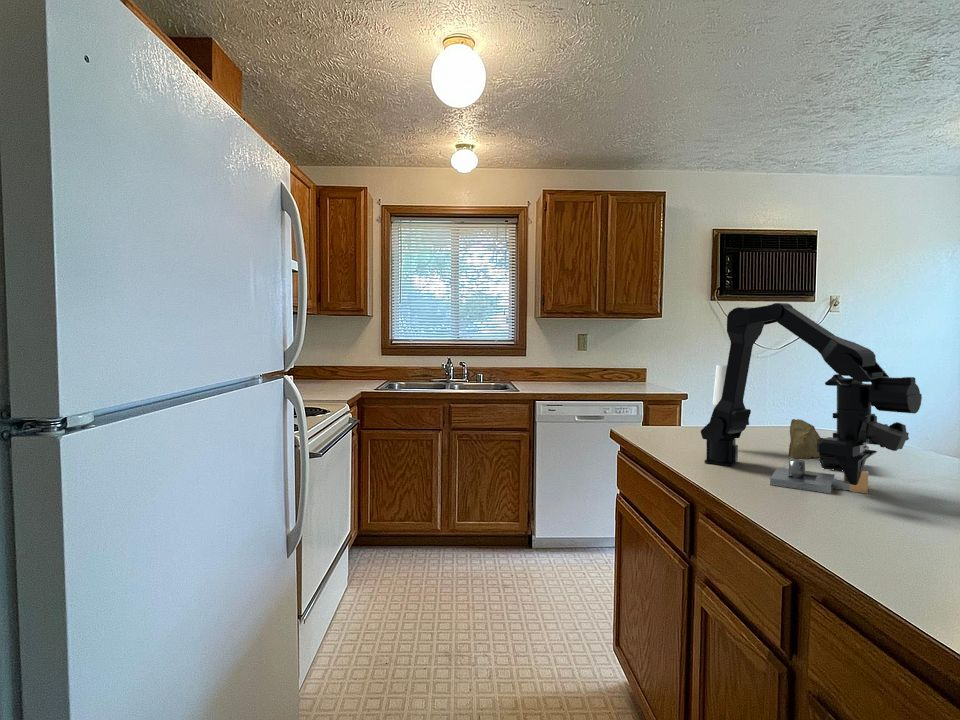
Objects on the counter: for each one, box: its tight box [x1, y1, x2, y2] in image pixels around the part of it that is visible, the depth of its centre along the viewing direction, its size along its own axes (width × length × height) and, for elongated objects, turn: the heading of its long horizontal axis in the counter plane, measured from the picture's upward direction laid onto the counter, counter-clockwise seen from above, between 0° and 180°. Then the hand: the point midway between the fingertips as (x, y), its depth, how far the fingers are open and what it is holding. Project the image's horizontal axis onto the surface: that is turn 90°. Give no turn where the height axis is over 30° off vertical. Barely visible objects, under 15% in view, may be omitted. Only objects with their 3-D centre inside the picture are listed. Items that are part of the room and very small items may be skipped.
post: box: [788, 458, 806, 479], centre depth 113 cm, size 3×3×5 cm
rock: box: [788, 418, 822, 459], centre depth 137 cm, size 11×9×10 cm
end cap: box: [818, 437, 842, 471], centre depth 126 cm, size 10×7×7 cm
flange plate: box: [769, 467, 869, 495], centre depth 111 cm, size 17×11×4 cm, turn 52°
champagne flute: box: [712, 364, 727, 409], centre depth 147 cm, size 7×7×24 cm
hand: (853, 484), depth 105 cm, fingers closed
